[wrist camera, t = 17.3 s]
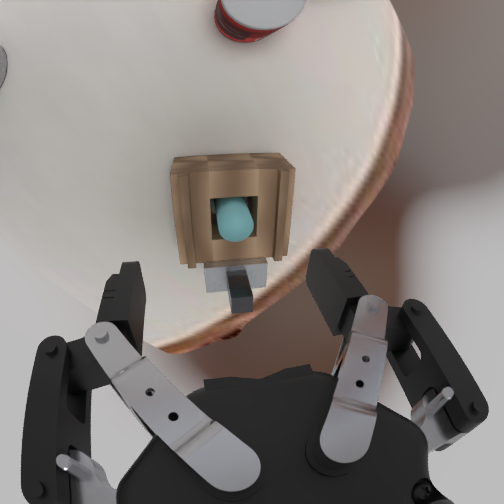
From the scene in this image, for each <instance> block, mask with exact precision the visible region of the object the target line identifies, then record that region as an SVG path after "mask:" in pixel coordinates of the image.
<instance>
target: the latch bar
mask: <svg viewBox="0 0 504 504" xmlns="http://www.w3.org/2000/svg"><path fill="white" fill-rule="evenodd" d="M204 272H205V282H206V292H207V293H208V292H219V291H228V295H229V301H230V307H231V312H232V314H234V313H244V312H253V294H252V290H251V288H261V287H266V278H267V260H266V258H256V259H245V260H233V261H221V262H209V263H204Z"/></svg>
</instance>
